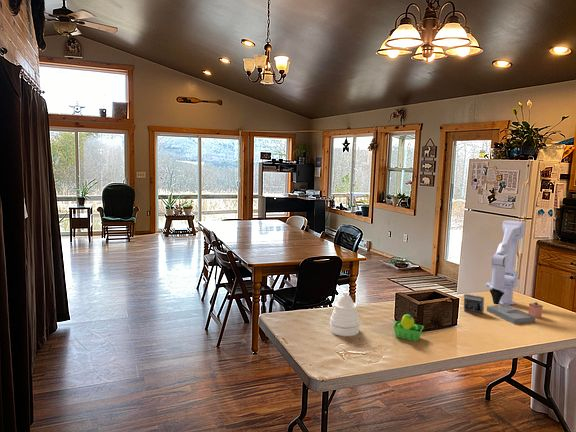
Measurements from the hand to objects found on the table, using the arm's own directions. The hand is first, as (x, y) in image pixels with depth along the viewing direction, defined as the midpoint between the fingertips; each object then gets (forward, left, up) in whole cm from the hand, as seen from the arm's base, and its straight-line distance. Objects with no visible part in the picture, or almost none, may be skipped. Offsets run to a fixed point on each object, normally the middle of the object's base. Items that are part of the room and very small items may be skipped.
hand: (496, 303), depth 222 cm
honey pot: (+7, -86, -3) cm, 86 cm away
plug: (+13, +12, -3) cm, 18 cm away
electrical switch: (+1, -14, -3) cm, 14 cm away
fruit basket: (+21, -63, -3) cm, 66 cm away
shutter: (+8, 0, 0) cm, 8 cm away
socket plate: (+10, 0, -3) cm, 10 cm away
